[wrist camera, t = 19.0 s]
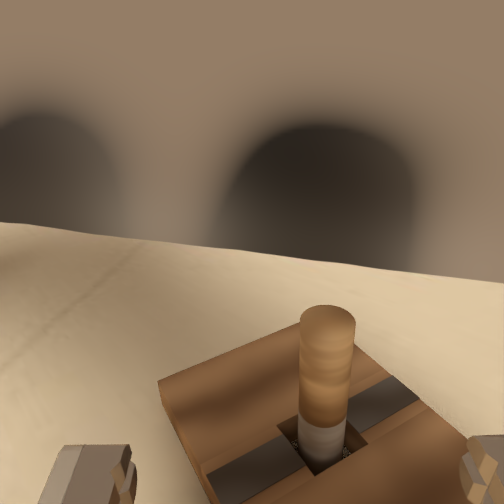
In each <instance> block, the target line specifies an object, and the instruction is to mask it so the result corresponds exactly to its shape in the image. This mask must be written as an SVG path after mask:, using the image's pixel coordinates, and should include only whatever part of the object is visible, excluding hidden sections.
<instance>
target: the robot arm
mask: <svg viewBox="0 0 504 504" xmlns="http://www.w3.org/2000/svg"><path fill="white" fill-rule="evenodd" d="M466 446H467V448H468V450H469V452H468V453H466V454H465V455H463V456H462V457H461V460H460V464H459V475H460V480H461V484H462V487H463V490H464V492H465V495H466V497H467V499H468V500H470V501H471V502H472V503H473V504H504V435H482V436H472V437H470V438H469V439H468V441H467V444H466ZM131 454H132V451H131V448H130V445H129V444H114V445H64V446H63V448H62V449H61V450H60V452H59V453H58V456H57V458H56V461H55V463H54V465H53V468H52V470H51V473H50V475H49V477H48V480H47V482H46V485H45V487H44V489H43V492H42V494H41V497H40V499H39V502H38V504H134V500H135V495H136V487H137V470H136V466H135V464H134V463H133V462H131V461H130V459H131Z"/></svg>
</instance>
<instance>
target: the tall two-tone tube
mask: <svg viewBox="0 0 504 504" xmlns="http://www.w3.org/2000/svg"><path fill="white" fill-rule="evenodd" d="M355 326H356V322H355V319H354V317H353V316H352V315H351V314H350V313H349V312H348V311H346V310H345V309H342V308H340V307H337V306H332V305H318V306H314V307H311V308H309V309H307V310H306V311H304V313H303V314H302V315H301V318H300V355H299V405H298V454H299V456H300V457H301V458H302V460H303V461H304V462H305V464H306V466H307V467H308V468H309V470H310V471H311V472H312V474H313V475H314V476H316V475H318V474H320V473H321V472H323V471H325V470H326V469H328V468H330V467H331V466H333V465H335V464H336V463H338V462H340V461H341V460H342V456H343V446H344V436H345V426H346V416H347V406H348V396H349V386H350V376H351V366H352V356H353V346H354V336H355Z"/></svg>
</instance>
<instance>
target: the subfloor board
mask: <svg viewBox="0 0 504 504" xmlns="http://www.w3.org/2000/svg"><path fill="white" fill-rule="evenodd" d="M299 355H300V322H299V323H297V324H294V325H292V326H289V327H287V328H284V329H282V330H280V331H277V332H275V333H272V334H270V335H268V336H265V337H263V338H260V339H258V340H255V341H253V342H251V343H248V344H246V345H243V346H241V347H239V348H236V349H234V350H231V351H229V352H226V353H224V354H222V355H219V356H217V357H214V358H212V359H209V360H207V361H205V362H202V363H200V364H197V365H195V366H193V367H190V368H188V369H185V370H183V371H180V372H178V373H176V374H173V375H171V376H168V377H166V378H164V379H161V380H159V381H158V386H159V391H160V396H161V401H162V405H163V407H164V409H165V411H166V413H167V415H168V417H169V419H170V421H171V423H172V425H173V427H174V429H175V431H176V433H177V435H178V437H179V440H180V442H181V444H182V446H183V448H184V450H185V452H186V454H187V456H188V458H189V460H190V462H191V464H192V466H193V468H194V470H195V472H196V474H197V476H198V478H199V480H200V482H201V484H202V486H203V488H204V490H205V492H206V494H207V496H208V498H209V500H210V503H211V504H473V503H472V502H471V501H470V500H468V499H467V497H466V495H465V492H464V490H463V487H462V484H461V480H460V475H459V464H460V460H461V457H462V456H463V455H465V454H466V453H468V452H469V450H468V448H467V446H466V444H467V441H468V439H467V438H465V437H464V436H463V435H462V434H461V433H459V432H458V431H457V430H456V429H455V428H454V427H452V426H451V425H450V424H449V423H448V422H446V421H445V420H444V419H443V418H442V417H440V416H439V415H438V414H437V413H436V412H435V411H433V410H432V409H431V408H430V407H429V406H427V405H426V404H425V403H424V402H423V401H421V400H420V398H419V397H418V396H417V395H416V394H414V393H413V392H412V391H411V390H410V389H408V388H407V387H406V386H405V385H404V384H402V383H401V382H400V381H399V380H398V379H397V378H395V377H394V376H393V375H391V374H389V373H388V372H387V371H386V370H385V369H384V368H382V367H381V366H380V365H379V364H378V363H376V362H375V361H374V360H373V359H372V358H370V357H369V356H368V355H367V354H366V353H365V352H363V351H362V350H361V349H360V348H359V347H357V346H356V345H355V344H354V346H353V356H352V366H351V376H350V386H349V396H348V406H347V416H346V426H345V436H344V445H345V447H346V448H347V449H348V450H349V451H350V452H351V453H352V454H351V455H349V456H348V457H346V458H345V459H343V460H341V461H340V462H338V463H336V464H335V465H333V466H331V467H330V468H328V469H326V470H325V471H323V472H321V473H320V474H318V475H316V476H314V475H313V474H312V472H311V471H310V470H309V468H308V467H307V466H306V464H305V462H304V461H303V460H302V458H301V457H300V456H299V454H298V453H297V452H296V450H295V449H294V448H293V446H292V445H291V444H290V442H292V441H294V440H295V439H297V438H298V405H299Z"/></svg>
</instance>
